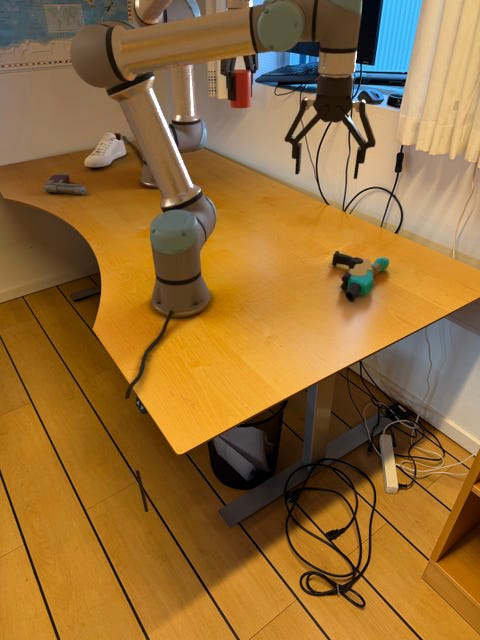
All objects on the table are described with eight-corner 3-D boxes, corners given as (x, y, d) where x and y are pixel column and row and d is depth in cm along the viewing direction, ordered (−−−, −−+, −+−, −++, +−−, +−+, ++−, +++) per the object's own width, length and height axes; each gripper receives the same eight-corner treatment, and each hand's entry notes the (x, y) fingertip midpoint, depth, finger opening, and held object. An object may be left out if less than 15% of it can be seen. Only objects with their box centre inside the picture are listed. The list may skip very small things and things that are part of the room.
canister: (246, 103, 152) (246, 68, 146) (253, 107, 147) (253, 72, 141) (227, 104, 150) (226, 70, 144) (233, 109, 145) (233, 73, 140)
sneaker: (78, 170, 212) (72, 142, 204) (110, 151, 234) (106, 126, 226) (99, 172, 209) (94, 144, 202) (129, 153, 231) (126, 127, 224)
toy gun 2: (311, 281, 124) (367, 296, 118) (342, 242, 143) (392, 253, 137) (309, 296, 127) (365, 311, 121) (340, 255, 145) (389, 267, 139)
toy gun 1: (99, 183, 198) (82, 197, 186) (58, 181, 201) (39, 194, 189) (97, 174, 195) (80, 188, 184) (55, 172, 199) (36, 184, 187)
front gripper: (397, 73, 100) (381, 173, 112) (280, 70, 105) (277, 165, 118) (397, 79, 94) (380, 184, 106) (273, 75, 99) (271, 175, 112)
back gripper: (222, 12, 126) (225, 105, 140) (272, 8, 137) (270, 95, 150) (204, 11, 131) (208, 101, 144) (253, 7, 141) (253, 92, 155)
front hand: (326, 174), depth 112 cm, fingers open, 13 cm apart
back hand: (240, 98), depth 147 cm, fingers closed on canister, 6 cm apart
